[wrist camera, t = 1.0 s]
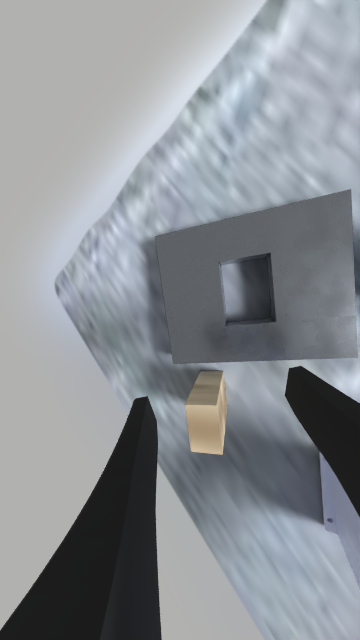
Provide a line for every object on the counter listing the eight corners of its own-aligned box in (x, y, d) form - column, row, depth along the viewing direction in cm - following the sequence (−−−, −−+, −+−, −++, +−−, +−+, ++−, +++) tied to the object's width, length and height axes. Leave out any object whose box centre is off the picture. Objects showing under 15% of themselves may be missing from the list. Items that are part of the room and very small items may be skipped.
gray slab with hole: (342, 348, 19) (357, 357, 16) (179, 356, 23) (173, 363, 21) (335, 203, 17) (351, 189, 15) (163, 242, 22) (154, 236, 20)
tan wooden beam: (227, 406, 23) (222, 454, 16) (204, 405, 23) (191, 451, 17) (223, 370, 22) (216, 405, 16) (200, 371, 23) (184, 404, 16)
